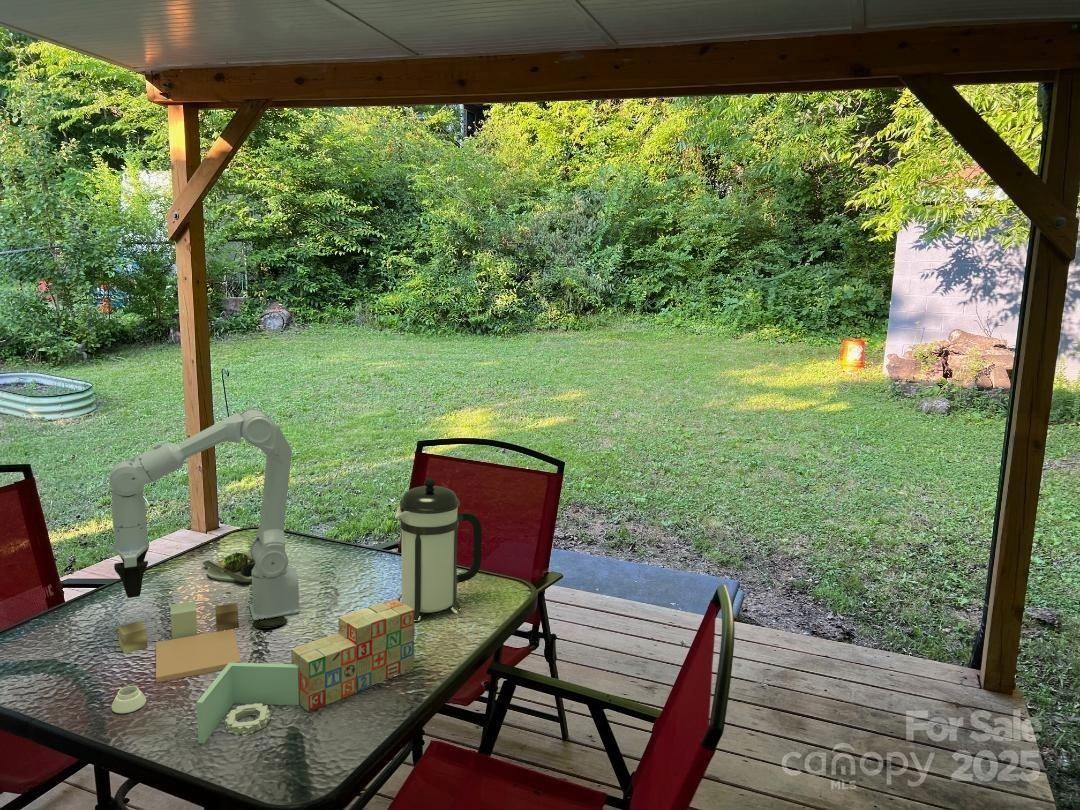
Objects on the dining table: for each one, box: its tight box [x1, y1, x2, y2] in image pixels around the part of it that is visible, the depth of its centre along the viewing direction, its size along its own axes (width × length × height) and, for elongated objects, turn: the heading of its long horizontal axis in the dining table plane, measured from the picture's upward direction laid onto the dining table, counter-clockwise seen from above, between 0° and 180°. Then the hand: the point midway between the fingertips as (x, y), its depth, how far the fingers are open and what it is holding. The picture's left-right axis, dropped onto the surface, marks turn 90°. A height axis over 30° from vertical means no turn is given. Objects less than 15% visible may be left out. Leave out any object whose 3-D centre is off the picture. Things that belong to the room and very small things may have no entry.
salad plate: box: [202, 551, 255, 584], centre depth 179 cm, size 19×18×5 cm
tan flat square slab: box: [155, 629, 242, 683], centre depth 139 cm, size 14×14×1 cm
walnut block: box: [215, 602, 240, 632], centre depth 151 cm, size 4×4×4 cm
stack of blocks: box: [290, 598, 415, 712], centre depth 131 cm, size 21×6×12 cm, turn 135°
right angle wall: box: [196, 662, 300, 744], centre depth 119 cm, size 12×12×8 cm
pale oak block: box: [117, 621, 148, 655], centre depth 141 cm, size 4×4×4 cm
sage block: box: [169, 601, 198, 640], centre depth 146 cm, size 4×4×6 cm
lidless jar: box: [111, 685, 147, 714], centre depth 122 cm, size 5×3×5 cm
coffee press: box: [394, 477, 483, 620], centre depth 161 cm, size 17×16×30 cm
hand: (134, 588), depth 144 cm, fingers open, 7 cm apart
